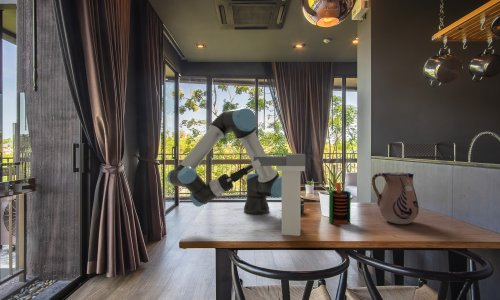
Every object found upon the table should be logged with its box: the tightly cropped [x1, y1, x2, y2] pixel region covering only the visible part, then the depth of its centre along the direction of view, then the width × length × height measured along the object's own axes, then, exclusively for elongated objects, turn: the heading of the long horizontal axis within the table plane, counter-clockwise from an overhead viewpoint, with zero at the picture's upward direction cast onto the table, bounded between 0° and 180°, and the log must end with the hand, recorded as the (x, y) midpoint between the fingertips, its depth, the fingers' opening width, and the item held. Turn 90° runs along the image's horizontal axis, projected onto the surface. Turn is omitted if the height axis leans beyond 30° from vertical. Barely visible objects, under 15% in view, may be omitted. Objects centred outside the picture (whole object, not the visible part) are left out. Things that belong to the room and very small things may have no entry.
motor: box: [328, 182, 352, 226], centre depth 145 cm, size 10×9×20 cm
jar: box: [301, 198, 305, 215], centre depth 167 cm, size 10×10×8 cm
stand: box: [275, 165, 306, 237], centre depth 129 cm, size 17×12×30 cm
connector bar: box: [254, 153, 306, 167], centre depth 125 cm, size 6×22×5 cm, turn 86°
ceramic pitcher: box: [371, 171, 420, 225], centre depth 145 cm, size 18×21×25 cm
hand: (261, 161), depth 127 cm, fingers open, 13 cm apart
